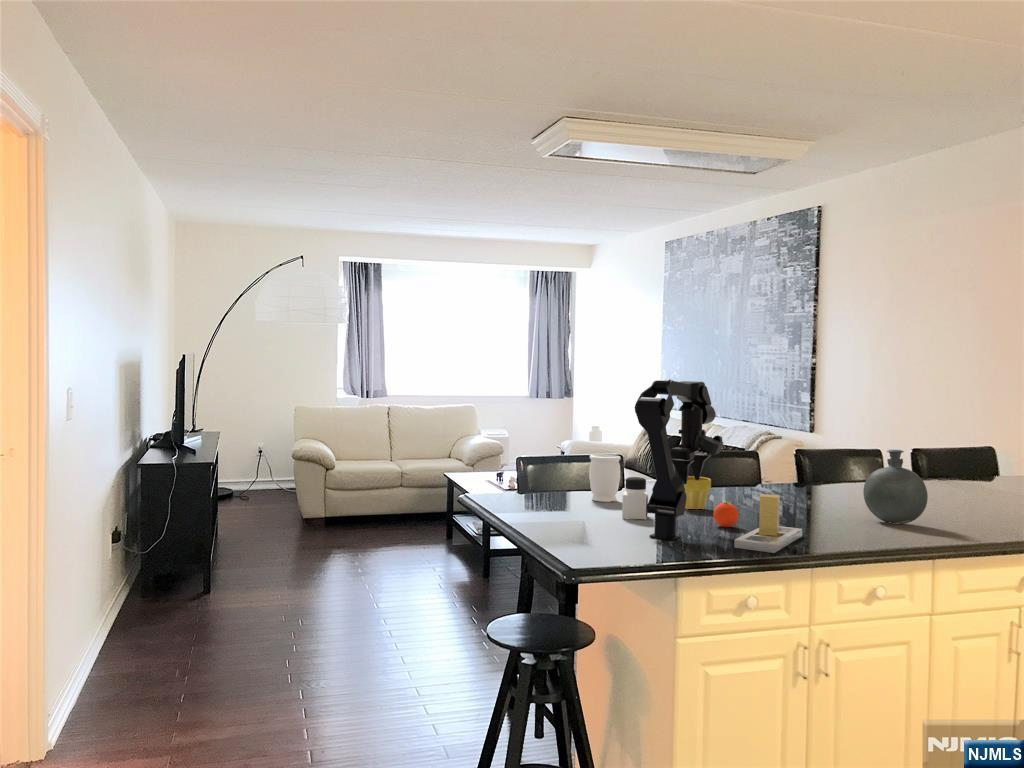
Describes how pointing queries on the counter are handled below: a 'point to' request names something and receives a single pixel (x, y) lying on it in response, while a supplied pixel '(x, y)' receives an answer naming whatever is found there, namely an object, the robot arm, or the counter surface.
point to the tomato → (726, 514)
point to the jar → (604, 477)
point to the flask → (895, 492)
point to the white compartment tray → (768, 540)
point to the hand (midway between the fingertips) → (691, 481)
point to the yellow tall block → (769, 515)
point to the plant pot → (696, 492)
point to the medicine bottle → (635, 499)
